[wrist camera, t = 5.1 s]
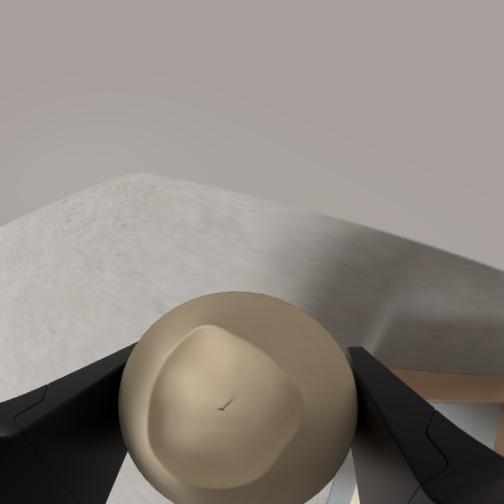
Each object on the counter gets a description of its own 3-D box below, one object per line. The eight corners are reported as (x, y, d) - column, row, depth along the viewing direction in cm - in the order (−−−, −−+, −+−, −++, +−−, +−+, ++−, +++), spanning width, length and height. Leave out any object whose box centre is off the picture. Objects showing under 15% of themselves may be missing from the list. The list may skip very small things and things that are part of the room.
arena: (478, 532, 11) (509, 548, 7) (314, 538, 14) (317, 569, 10) (513, 385, 17) (551, 375, 12) (358, 374, 20) (374, 366, 15)
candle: (212, 352, 15) (98, 270, 7) (324, 349, 15) (359, 255, 6) (209, 459, 13) (81, 512, 4) (326, 460, 12) (369, 543, 3)
